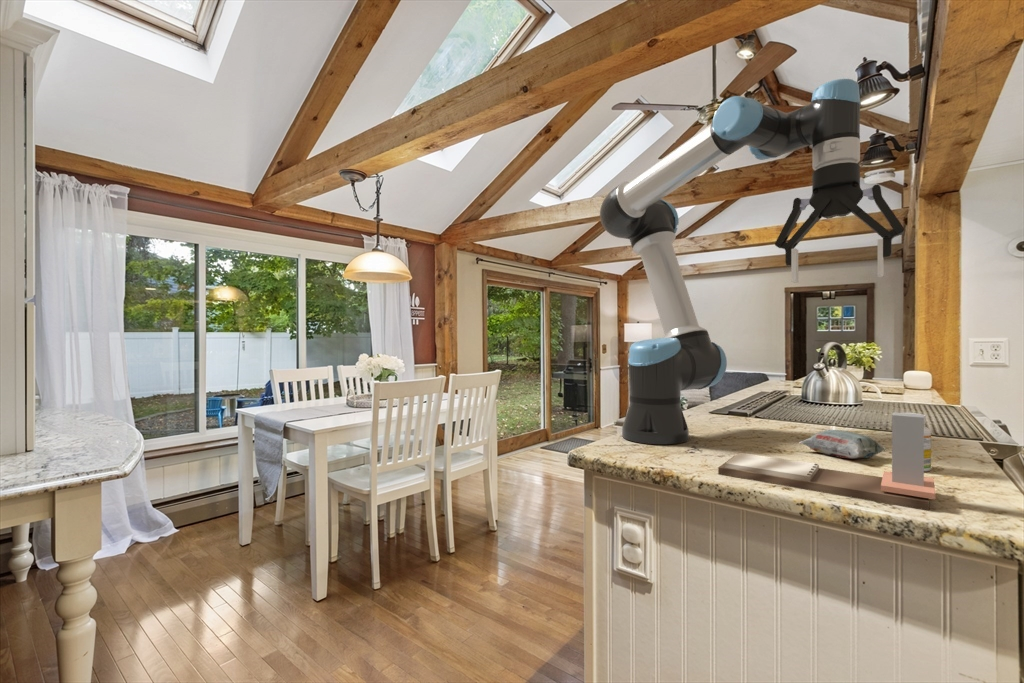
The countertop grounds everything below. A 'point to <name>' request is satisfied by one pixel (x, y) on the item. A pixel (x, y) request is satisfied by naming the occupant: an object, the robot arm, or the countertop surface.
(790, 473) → the board
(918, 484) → the grey upright slab piece
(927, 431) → the supplement bottle
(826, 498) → the countertop surface
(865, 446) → the packaged food
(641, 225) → the robot arm
